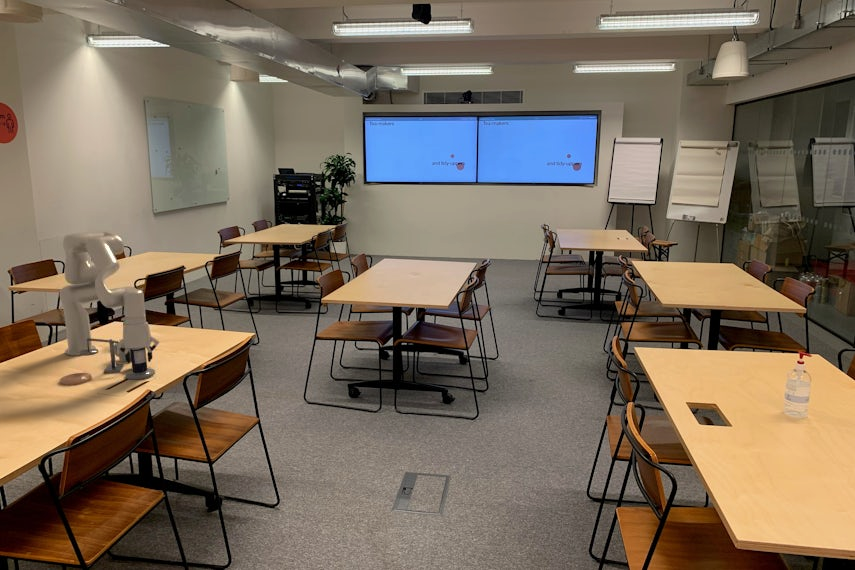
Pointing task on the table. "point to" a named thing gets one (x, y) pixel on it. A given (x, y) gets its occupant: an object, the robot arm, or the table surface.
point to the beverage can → (138, 360)
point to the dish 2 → (147, 374)
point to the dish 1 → (75, 379)
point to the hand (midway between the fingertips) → (139, 361)
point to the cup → (120, 353)
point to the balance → (113, 366)
